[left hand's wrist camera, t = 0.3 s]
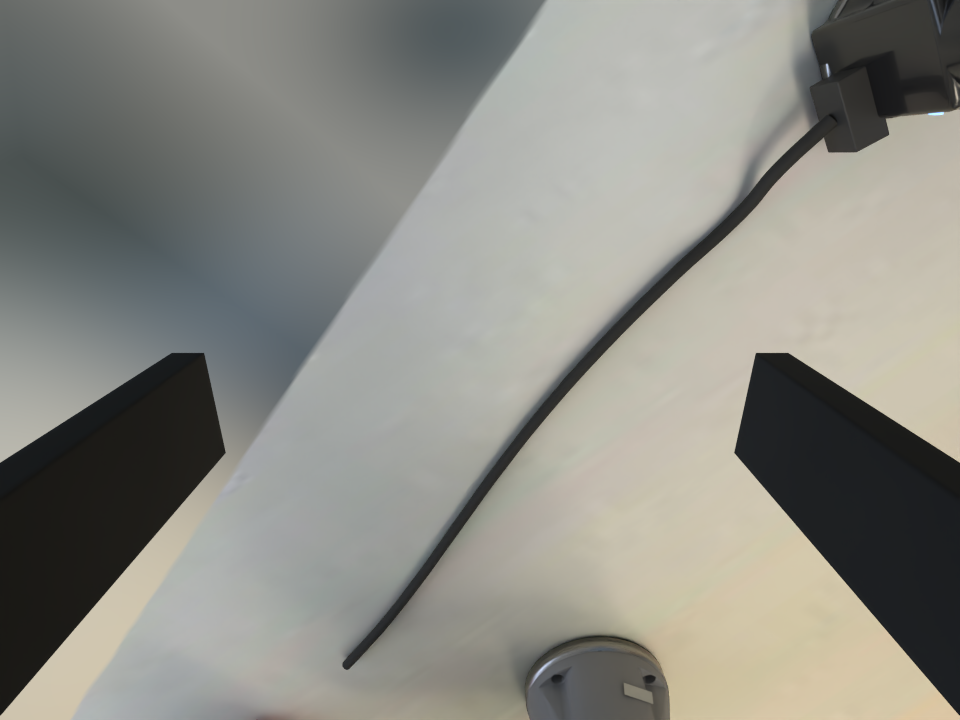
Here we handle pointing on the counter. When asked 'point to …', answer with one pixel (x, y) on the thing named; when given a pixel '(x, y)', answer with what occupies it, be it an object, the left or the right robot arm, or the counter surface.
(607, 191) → the counter surface
